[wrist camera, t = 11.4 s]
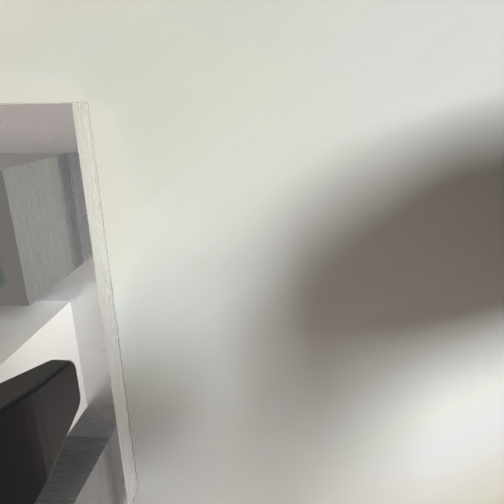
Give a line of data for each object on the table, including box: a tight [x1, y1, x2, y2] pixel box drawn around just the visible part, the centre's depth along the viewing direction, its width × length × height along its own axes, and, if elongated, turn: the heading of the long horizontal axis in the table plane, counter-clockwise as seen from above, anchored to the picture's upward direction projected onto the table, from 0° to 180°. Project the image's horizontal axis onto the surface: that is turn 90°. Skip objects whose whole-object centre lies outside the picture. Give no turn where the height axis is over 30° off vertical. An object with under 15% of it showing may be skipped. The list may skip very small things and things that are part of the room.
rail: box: [0, 102, 138, 504], centre depth 21 cm, size 7×22×6 cm, turn 1°
